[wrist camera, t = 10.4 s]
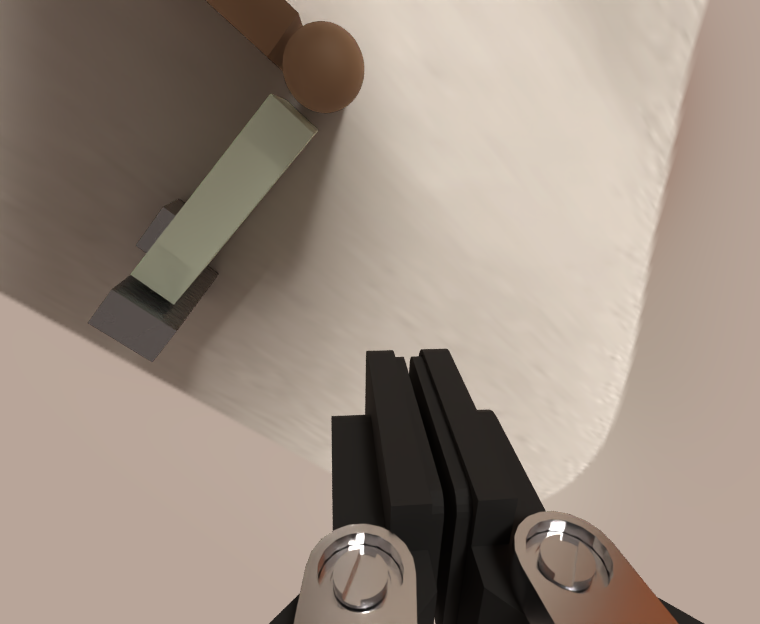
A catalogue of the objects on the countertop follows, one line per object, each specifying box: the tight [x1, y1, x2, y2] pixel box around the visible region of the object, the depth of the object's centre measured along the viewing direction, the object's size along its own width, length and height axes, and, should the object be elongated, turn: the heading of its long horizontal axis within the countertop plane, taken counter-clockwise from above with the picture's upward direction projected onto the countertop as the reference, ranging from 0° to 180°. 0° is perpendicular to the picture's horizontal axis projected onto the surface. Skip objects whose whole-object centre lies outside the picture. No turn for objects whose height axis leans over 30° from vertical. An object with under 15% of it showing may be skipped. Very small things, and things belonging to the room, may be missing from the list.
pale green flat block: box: [130, 93, 318, 305], centre depth 21 cm, size 9×2×6 cm, turn 137°
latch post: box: [88, 199, 218, 362], centre depth 22 cm, size 4×4×8 cm
